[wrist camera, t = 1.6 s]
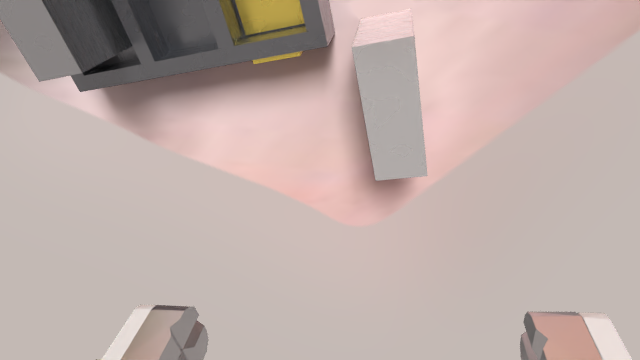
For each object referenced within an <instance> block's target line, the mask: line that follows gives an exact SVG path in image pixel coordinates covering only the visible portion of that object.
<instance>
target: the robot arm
mask: <svg viewBox="0 0 640 360" xmlns="http://www.w3.org/2000/svg"><path fill="white" fill-rule="evenodd" d="M198 316H199V314H198V313H197V311H196V309H195V308H194V307H186V306H165V305H140V306H138V307H137V308H136V309H134V311H133V312H132V314H131V315H130V317H129V318H128V320H127V322H126V323H125V324H124V326H123V327H122V329H121V330H120V332H119V334H118V335H117V337H116V338H115V340H114V341H113V343H112V344H111V346H110V347H109V349H108V350H107V352H106V353H105V355H104V356H103V358H102V359H101V360H203V359H204V356H205V354H206V351H207V345H208V336H207V331H206V329H205V326H204V325H202V324H201V323H200V322H198V321H197V318H198ZM524 325H525V328H526V332H525V333H523V334H522V335H521V341H520V351H521V360H632V358H631V357H630V355H629V353H628V351H627V349H626V347H625V345H624V344H623V342H622V340H621V338H620V336H619V335H618V333H617V331H616V330H615V327H614V326H613V324H612V322H611V320H610V318H609V317H608V316H607V315H606V314H605V313H576V312H527V313H526V314H525V318H524ZM96 360H98V359H96Z"/></svg>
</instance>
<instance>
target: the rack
mask: <svg viewBox="0 0 640 360" xmlns="http://www.w3.org/2000/svg"><path fill="white" fill-rule="evenodd" d="M0 20H1V21H2V23H3V24H4V26H5V28H6V29H7V31H8V32H9V34H10V35H11V37H12V39H13V40H14V42H15V43H16V45H17V47H18V48H19V50H20V51H21V53H22V55H23V56H24V58H25V59H26V61H27V63H28V64H29V66H30V67H31V69H32V71H33V72H34V74H35V75H36V77H37V79H38V80H39V82H40V81H45V80H50V79H55V78H60V77H65V76H70V75H71V77H72V79H73V81H74V82H75V84H76V86H77V87H78V89H79V91H80V92H83V91H88V90H94V89H99V88H104V87H110V86H115V85H121V84H126V83H132V82H137V81H143V80H148V79H153V78H159V77H164V76H170V75H175V74H181V73H186V72H191V71H197V70H202V69H208V68H213V67H219V66H224V65H229V64H235V63H240V62H246V61H251V60H252V61H253V64H258V63H264V62H269V61H275V60H280V59H286V58H291V57H297V56H301V54H302V53H303V51H306V50H311V49H316V48H322V47H327V46H328V45H329V43H330V41H331V39H332V37H333V35H334V33H335V30H334V25H333V20H332V15H331V10H330V5H329V0H0Z"/></svg>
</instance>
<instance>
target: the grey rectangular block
mask: <svg viewBox="0 0 640 360" xmlns="http://www.w3.org/2000/svg"><path fill="white" fill-rule="evenodd" d="M352 52H353V57H354V63H355V69H356V74H357V80H358V85H359V91H360V96H361V102H362V108H363V113H364V119H365V124H366V130H367V136H368V141H369V147H370V152H371V158H372V164H373V169H374V175H375V180H376V181H378V180H389V179H400V178H411V177H422V176H427V166H426V156H425V145H424V134H423V123H422V113H421V102H420V91H419V81H418V70H417V59H416V49H415V38H414V28H413V19H412V10H411V9H407V10H401V11H396V12H391V13H386V14H381V15H376V16H371V17H366V18H361V21H360V24H359V27H358V30H357V33H356V36H355V39H354V42H353V45H352Z"/></svg>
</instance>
